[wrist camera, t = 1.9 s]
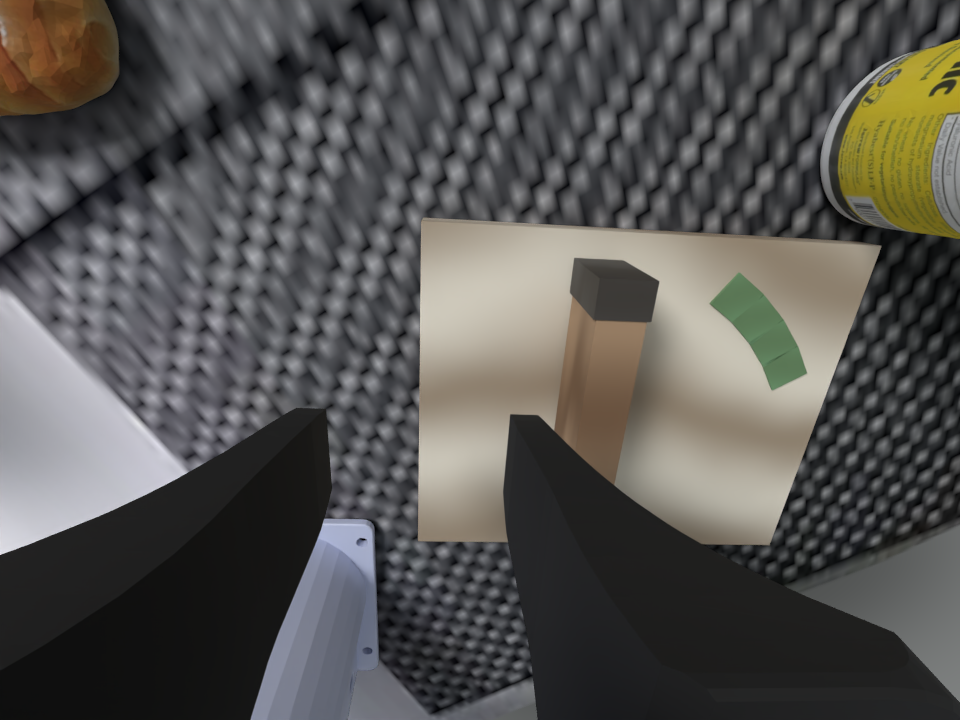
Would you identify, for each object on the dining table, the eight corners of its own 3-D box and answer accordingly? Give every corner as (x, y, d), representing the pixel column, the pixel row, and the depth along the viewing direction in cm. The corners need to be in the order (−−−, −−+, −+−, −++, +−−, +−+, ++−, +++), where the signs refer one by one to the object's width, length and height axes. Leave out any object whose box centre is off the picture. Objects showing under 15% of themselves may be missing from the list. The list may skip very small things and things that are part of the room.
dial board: (756, 529, 23) (770, 546, 22) (419, 524, 22) (418, 542, 21) (859, 241, 17) (883, 246, 16) (423, 217, 16) (421, 221, 15)
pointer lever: (595, 510, 20) (621, 575, 17) (525, 509, 20) (538, 575, 17) (642, 261, 16) (688, 285, 13) (554, 256, 16) (579, 280, 13)
